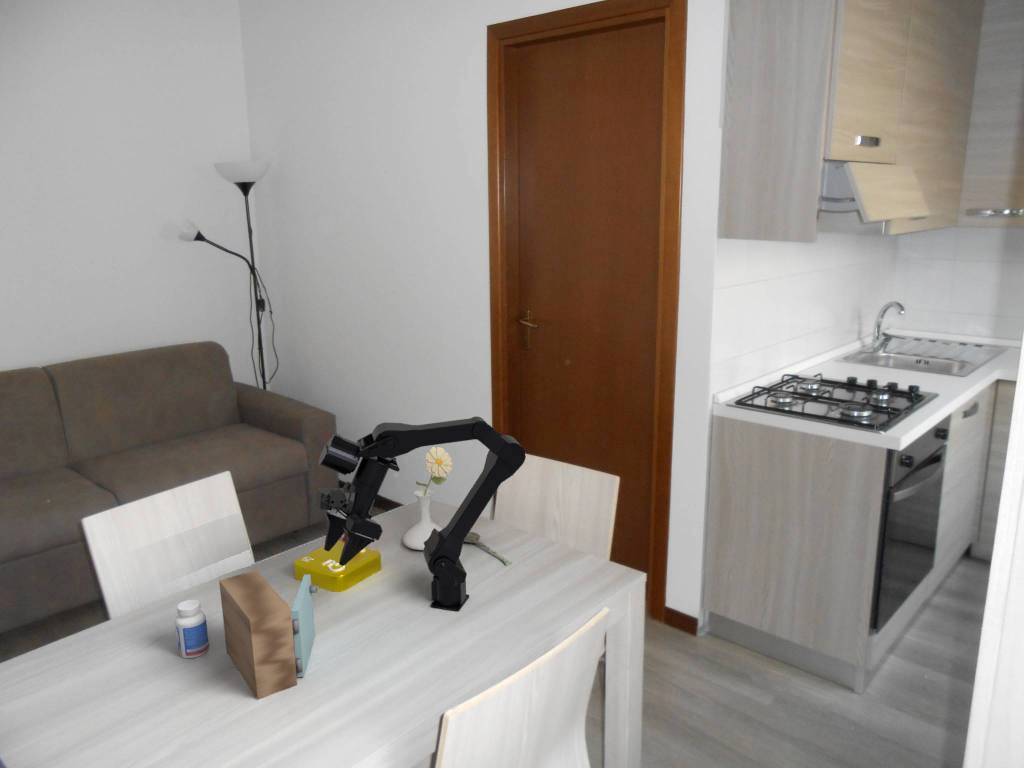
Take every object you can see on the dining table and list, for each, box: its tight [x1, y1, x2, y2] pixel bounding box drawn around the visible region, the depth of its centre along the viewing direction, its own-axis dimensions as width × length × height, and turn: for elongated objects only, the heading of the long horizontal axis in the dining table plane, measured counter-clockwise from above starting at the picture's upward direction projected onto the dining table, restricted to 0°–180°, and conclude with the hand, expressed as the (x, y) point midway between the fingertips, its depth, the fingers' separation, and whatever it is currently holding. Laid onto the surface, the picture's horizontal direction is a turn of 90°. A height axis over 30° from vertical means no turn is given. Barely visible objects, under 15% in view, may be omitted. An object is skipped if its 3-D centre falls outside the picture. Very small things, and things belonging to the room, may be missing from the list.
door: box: [291, 574, 318, 678], centre depth 146 cm, size 15×2×13 cm, turn 6°
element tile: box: [293, 539, 382, 593], centre depth 181 cm, size 15×15×5 cm
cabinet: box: [218, 569, 298, 700], centre depth 143 cm, size 7×18×15 cm, turn 36°
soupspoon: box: [464, 531, 513, 567], centre depth 192 cm, size 22×3×7 cm
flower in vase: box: [402, 446, 453, 551], centre depth 194 cm, size 13×11×25 cm
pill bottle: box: [174, 599, 210, 659], centre depth 149 cm, size 6×5×10 cm
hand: (333, 557), depth 155 cm, fingers open, 9 cm apart
